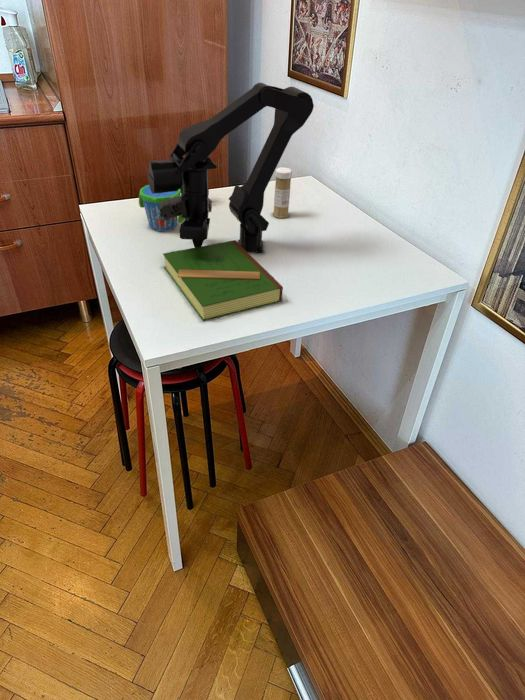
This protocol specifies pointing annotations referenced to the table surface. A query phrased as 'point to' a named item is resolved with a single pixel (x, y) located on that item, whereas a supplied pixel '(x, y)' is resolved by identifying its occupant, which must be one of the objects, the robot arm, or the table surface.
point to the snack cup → (157, 208)
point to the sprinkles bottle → (282, 192)
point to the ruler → (219, 274)
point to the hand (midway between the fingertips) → (197, 249)
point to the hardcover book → (222, 280)
